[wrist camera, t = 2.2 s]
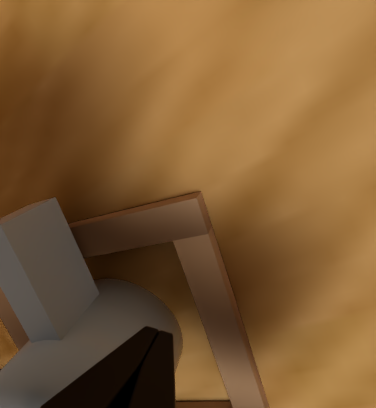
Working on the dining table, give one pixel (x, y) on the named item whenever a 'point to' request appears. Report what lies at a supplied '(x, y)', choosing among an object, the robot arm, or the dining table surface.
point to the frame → (196, 277)
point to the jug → (64, 307)
